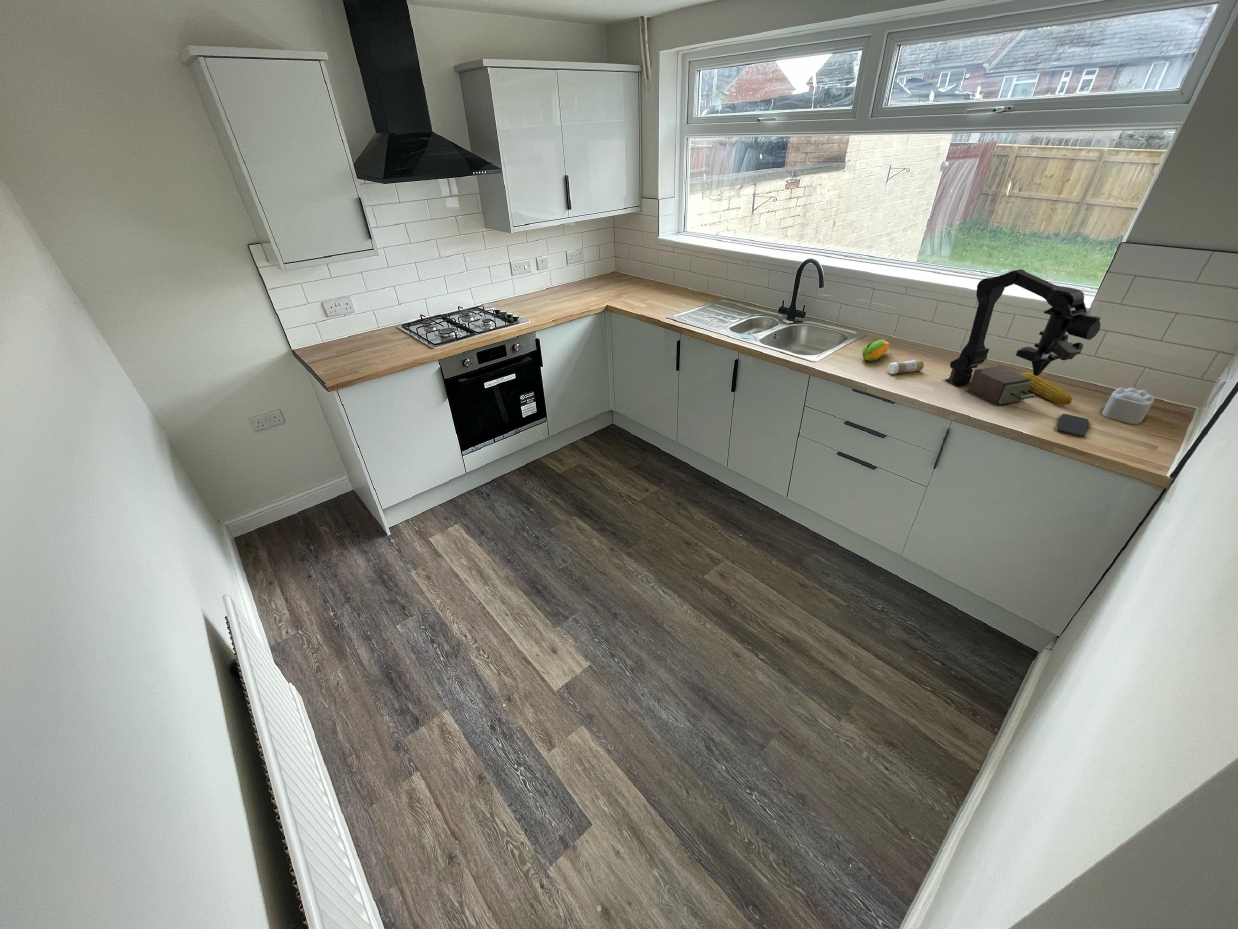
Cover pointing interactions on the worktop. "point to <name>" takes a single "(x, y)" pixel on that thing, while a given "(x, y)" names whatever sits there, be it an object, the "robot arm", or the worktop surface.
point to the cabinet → (993, 382)
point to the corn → (875, 350)
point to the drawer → (1015, 392)
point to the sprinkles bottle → (905, 366)
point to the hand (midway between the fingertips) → (1036, 375)
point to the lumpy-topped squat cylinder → (1128, 405)
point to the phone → (1073, 425)
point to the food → (1048, 389)
